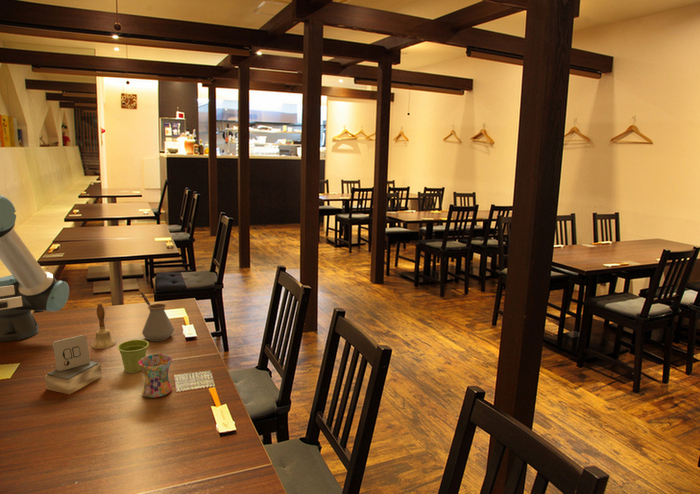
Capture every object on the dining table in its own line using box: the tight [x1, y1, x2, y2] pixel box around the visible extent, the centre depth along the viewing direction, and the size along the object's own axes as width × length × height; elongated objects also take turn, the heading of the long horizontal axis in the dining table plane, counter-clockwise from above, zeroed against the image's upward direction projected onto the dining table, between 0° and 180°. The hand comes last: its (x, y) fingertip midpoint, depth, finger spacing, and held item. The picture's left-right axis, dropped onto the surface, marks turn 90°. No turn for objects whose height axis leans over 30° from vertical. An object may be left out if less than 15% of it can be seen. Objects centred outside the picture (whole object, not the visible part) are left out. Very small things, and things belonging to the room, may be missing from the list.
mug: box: [139, 353, 173, 398], centre depth 142 cm, size 12×9×11 cm
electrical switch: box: [51, 334, 91, 371], centre depth 147 cm, size 9×5×9 cm, turn 136°
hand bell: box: [91, 303, 117, 350], centre depth 173 cm, size 8×8×16 cm
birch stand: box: [44, 360, 103, 395], centre depth 146 cm, size 12×9×5 cm
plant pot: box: [117, 339, 150, 374], centre depth 156 cm, size 9×9×9 cm
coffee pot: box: [138, 291, 175, 342], centre depth 185 cm, size 21×12×15 cm, turn 45°
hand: (18, 295), depth 135 cm, fingers open, 13 cm apart
